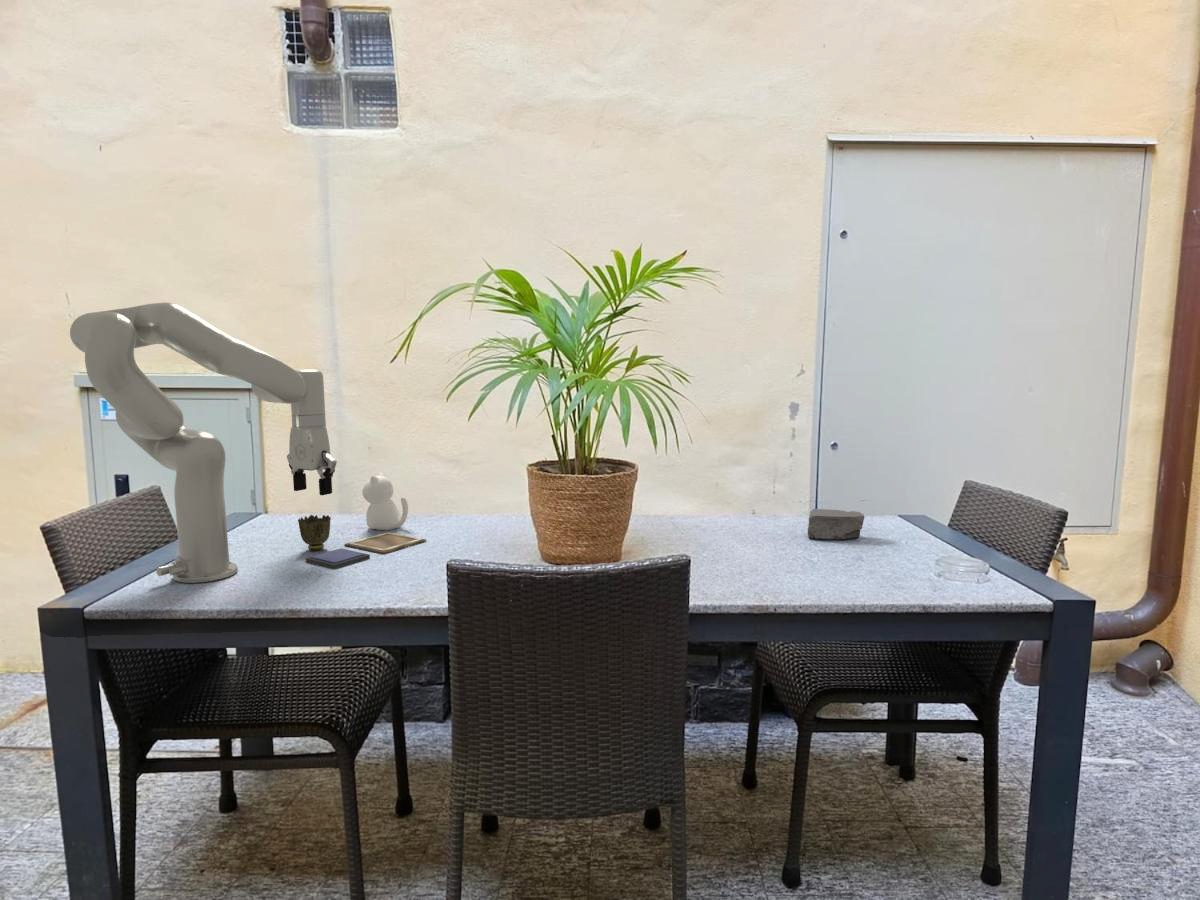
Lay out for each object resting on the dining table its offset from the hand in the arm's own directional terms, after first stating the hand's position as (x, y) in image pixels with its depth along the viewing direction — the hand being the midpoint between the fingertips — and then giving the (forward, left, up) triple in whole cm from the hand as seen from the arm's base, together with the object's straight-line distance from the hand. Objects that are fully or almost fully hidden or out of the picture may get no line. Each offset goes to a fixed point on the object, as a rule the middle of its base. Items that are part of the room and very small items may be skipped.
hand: (312, 492), depth 187 cm
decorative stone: (+80, -102, -15) cm, 130 cm away
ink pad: (-3, -12, -14) cm, 19 cm away
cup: (0, 0, -14) cm, 14 cm away
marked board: (+13, -10, -14) cm, 22 cm away
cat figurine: (+24, +2, -14) cm, 28 cm away
